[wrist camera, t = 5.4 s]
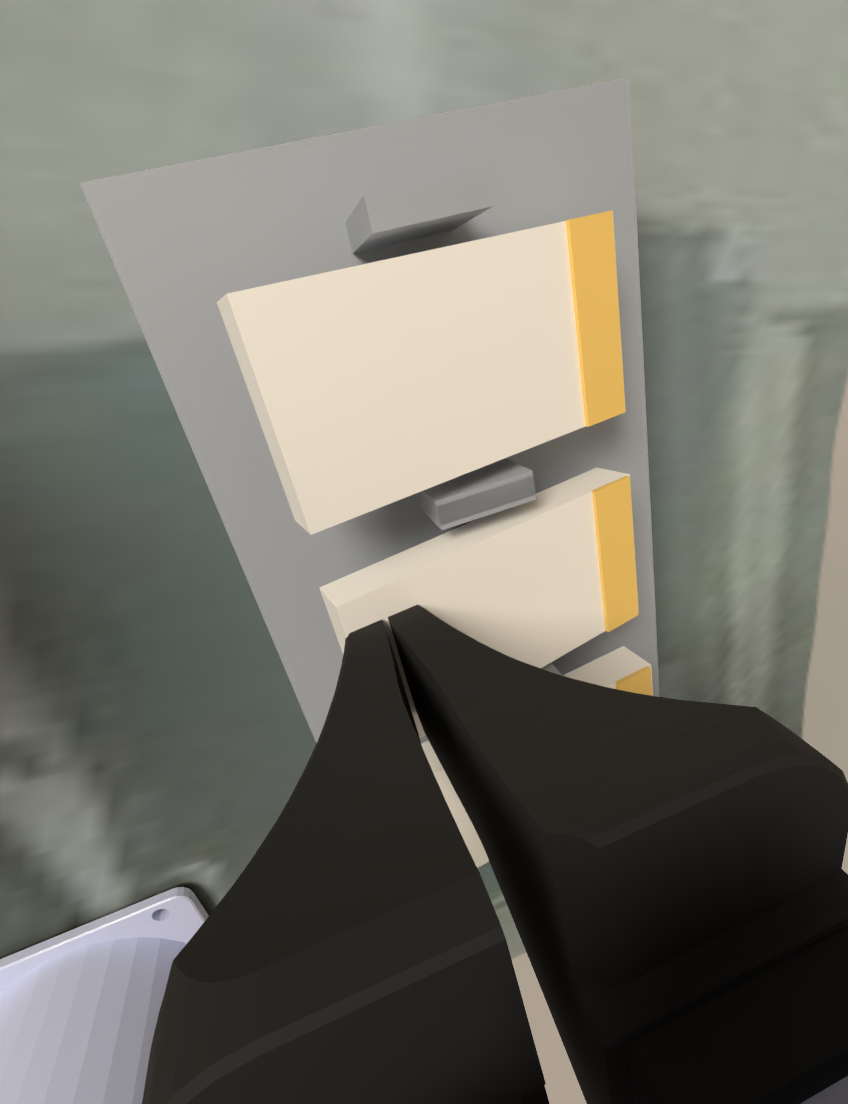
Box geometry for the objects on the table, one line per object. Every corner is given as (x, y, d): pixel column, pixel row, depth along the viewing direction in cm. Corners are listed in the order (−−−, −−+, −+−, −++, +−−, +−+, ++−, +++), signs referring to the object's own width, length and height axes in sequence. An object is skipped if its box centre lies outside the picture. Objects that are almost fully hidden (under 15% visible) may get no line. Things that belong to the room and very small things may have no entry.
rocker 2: (369, 728, 11) (390, 759, 11) (318, 587, 10) (337, 609, 9) (608, 597, 14) (641, 613, 13) (596, 467, 12) (633, 474, 11)
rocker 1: (294, 521, 9) (311, 536, 8) (216, 302, 8) (227, 292, 7) (590, 407, 12) (628, 410, 11) (573, 223, 10) (616, 209, 9)
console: (359, 805, 19) (389, 952, 14) (123, 221, 11) (29, 138, 7) (612, 702, 20) (711, 805, 16) (557, 131, 13) (717, 17, 8)
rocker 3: (417, 859, 14) (433, 897, 13) (382, 762, 12) (397, 795, 11) (631, 743, 16) (659, 768, 15) (623, 645, 14) (653, 666, 13)
